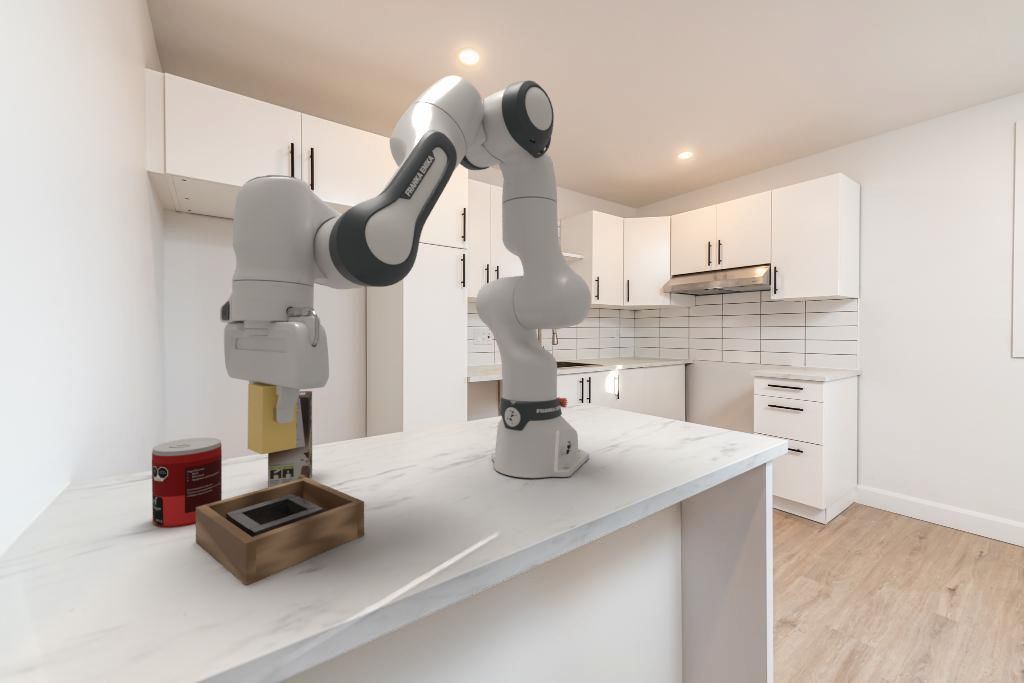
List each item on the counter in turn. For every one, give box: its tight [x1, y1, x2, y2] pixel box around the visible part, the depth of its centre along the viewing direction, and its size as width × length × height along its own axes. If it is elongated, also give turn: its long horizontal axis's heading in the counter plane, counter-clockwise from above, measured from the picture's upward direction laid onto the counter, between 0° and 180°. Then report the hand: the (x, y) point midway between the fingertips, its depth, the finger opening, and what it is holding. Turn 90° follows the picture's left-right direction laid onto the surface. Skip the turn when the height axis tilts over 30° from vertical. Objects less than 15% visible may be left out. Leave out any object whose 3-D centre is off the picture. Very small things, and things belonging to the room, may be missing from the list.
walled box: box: [195, 477, 365, 587], centre depth 54 cm, size 14×15×5 cm
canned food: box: [151, 437, 223, 529], centre depth 60 cm, size 8×8×11 cm
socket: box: [226, 494, 323, 537], centre depth 53 cm, size 8×8×4 cm
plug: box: [247, 383, 297, 455], centre depth 52 cm, size 4×4×8 cm
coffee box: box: [267, 390, 313, 488], centre depth 75 cm, size 9×6×16 cm
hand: (272, 419), depth 52 cm, fingers closed on plug, 4 cm apart
